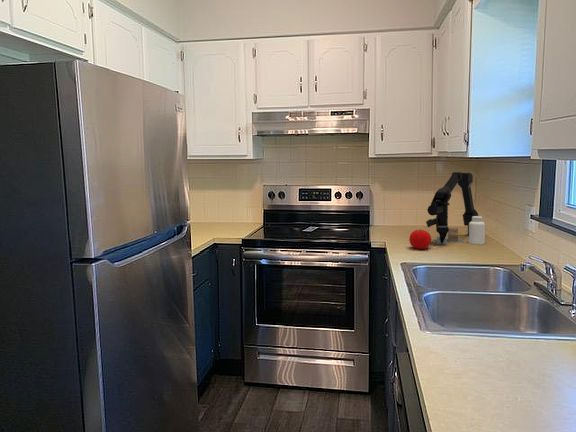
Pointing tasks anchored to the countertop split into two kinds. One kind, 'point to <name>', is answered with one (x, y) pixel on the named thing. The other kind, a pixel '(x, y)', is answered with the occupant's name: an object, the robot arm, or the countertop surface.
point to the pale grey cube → (440, 241)
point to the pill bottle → (476, 230)
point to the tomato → (420, 239)
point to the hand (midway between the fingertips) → (441, 242)
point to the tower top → (453, 231)
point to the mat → (456, 241)
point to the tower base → (452, 237)
